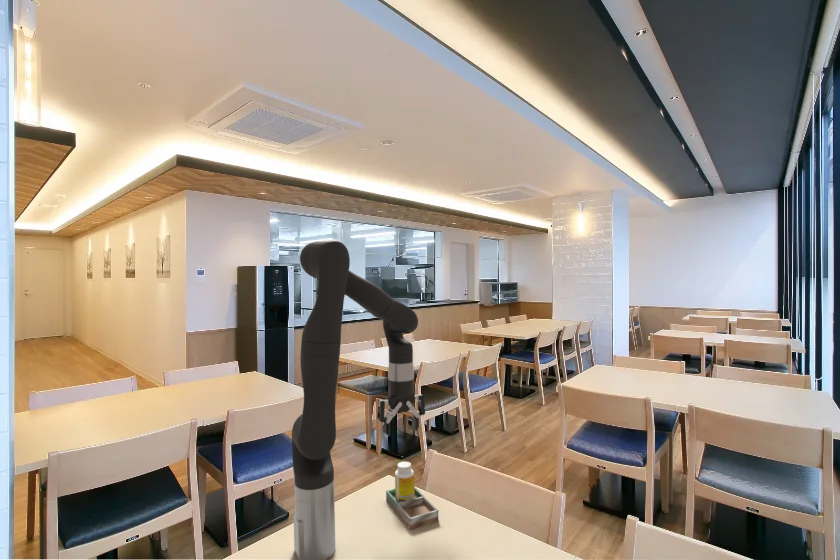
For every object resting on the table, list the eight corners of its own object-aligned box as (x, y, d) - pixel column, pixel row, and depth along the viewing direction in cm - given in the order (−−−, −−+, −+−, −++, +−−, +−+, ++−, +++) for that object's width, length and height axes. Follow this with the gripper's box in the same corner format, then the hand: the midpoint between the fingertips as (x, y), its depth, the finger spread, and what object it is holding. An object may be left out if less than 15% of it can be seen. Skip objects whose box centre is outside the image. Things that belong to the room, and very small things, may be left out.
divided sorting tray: (410, 529, 110) (409, 519, 110) (386, 500, 124) (386, 490, 124) (438, 520, 113) (438, 510, 113) (412, 493, 128) (412, 483, 128)
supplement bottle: (418, 499, 122) (417, 464, 122) (403, 506, 118) (402, 470, 118) (406, 492, 126) (406, 458, 126) (391, 498, 123) (390, 464, 123)
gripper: (383, 382, 116) (383, 441, 116) (428, 376, 122) (429, 432, 122) (373, 377, 123) (374, 432, 123) (417, 371, 129) (417, 424, 129)
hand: (401, 432), depth 123 cm, fingers open, 8 cm apart
